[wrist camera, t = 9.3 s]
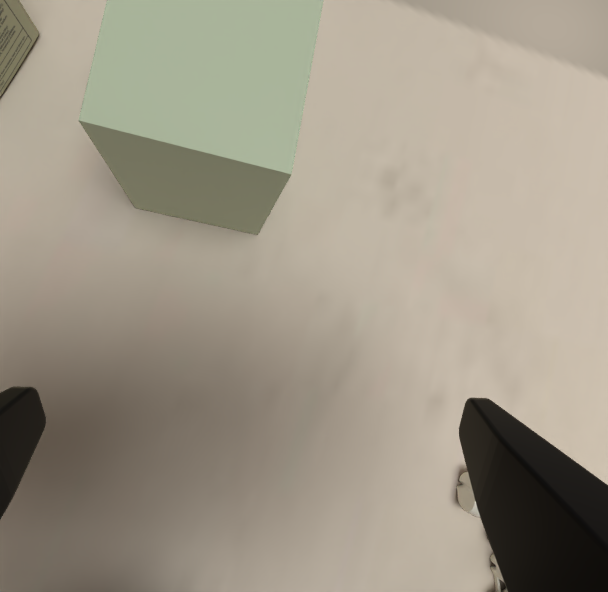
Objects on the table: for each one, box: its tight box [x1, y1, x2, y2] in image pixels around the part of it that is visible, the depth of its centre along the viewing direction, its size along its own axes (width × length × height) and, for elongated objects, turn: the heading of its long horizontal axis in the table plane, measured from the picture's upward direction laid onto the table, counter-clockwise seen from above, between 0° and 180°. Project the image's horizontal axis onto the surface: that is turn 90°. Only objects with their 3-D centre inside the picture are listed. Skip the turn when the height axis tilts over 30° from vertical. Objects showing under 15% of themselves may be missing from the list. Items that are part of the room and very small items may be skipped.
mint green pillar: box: [79, 0, 323, 235], centre depth 18 cm, size 6×6×10 cm
